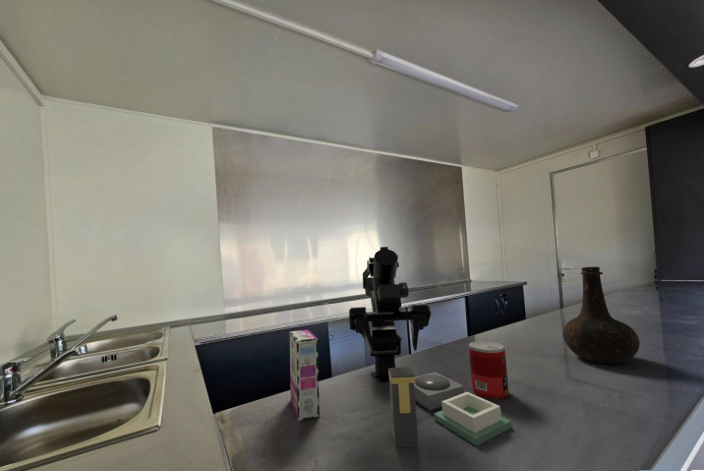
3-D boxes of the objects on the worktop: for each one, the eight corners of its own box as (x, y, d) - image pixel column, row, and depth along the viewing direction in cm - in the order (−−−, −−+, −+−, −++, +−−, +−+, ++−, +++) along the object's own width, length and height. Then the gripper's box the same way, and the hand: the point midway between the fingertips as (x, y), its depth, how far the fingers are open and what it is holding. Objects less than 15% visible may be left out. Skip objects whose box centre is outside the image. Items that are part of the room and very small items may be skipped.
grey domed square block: (403, 392, 71) (402, 377, 72) (436, 383, 75) (435, 370, 76) (429, 410, 62) (428, 393, 62) (464, 399, 66) (463, 384, 66)
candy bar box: (321, 417, 61) (318, 338, 63) (297, 423, 60) (295, 341, 61) (310, 395, 72) (308, 328, 73) (290, 400, 70) (288, 330, 72)
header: (434, 419, 58) (433, 400, 59) (467, 406, 63) (466, 388, 64) (476, 445, 50) (474, 423, 50) (511, 427, 54) (509, 407, 55)
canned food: (513, 400, 65) (508, 350, 66) (476, 399, 66) (471, 349, 67) (503, 386, 72) (499, 341, 73) (469, 385, 74) (466, 340, 75)
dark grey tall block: (392, 434, 54) (388, 368, 55) (413, 433, 54) (409, 367, 55) (395, 450, 49) (391, 377, 51) (419, 449, 49) (414, 376, 51)
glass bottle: (580, 368, 81) (568, 268, 84) (556, 349, 98) (546, 267, 101) (660, 372, 76) (644, 266, 79) (619, 351, 93) (608, 265, 96)
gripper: (347, 273, 68) (348, 331, 56) (426, 269, 68) (444, 327, 56) (349, 302, 75) (350, 360, 63) (420, 299, 75) (435, 356, 63)
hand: (394, 351), depth 61 cm, fingers open, 9 cm apart
